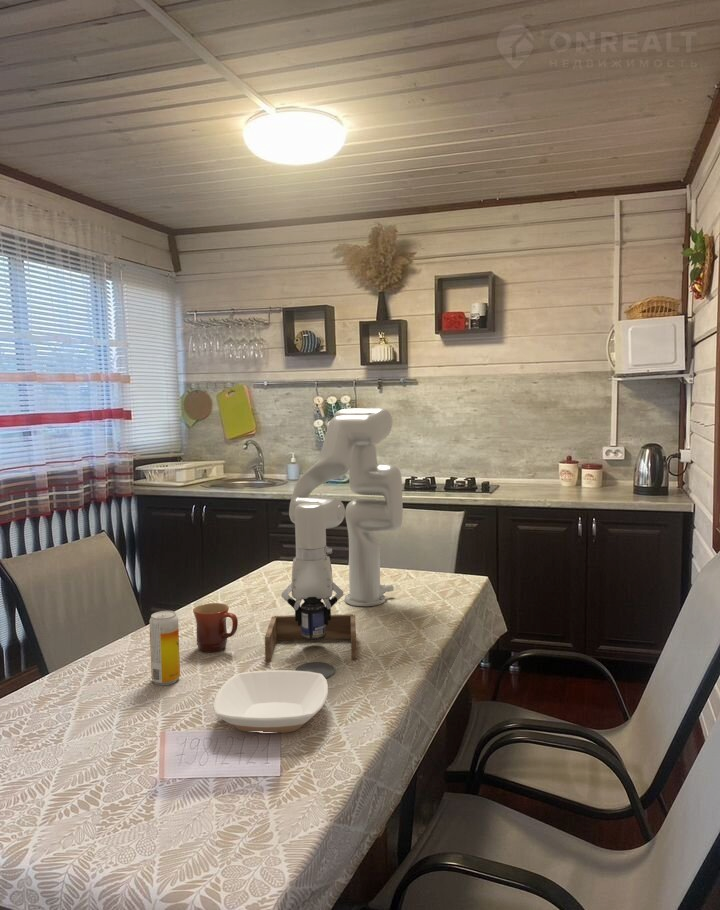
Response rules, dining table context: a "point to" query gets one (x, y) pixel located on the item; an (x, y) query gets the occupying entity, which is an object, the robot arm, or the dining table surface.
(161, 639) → the beer can
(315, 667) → the slate coaster
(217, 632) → the mug
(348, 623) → the u-shaped wooden arch
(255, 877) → the dining table surface
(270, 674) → the bowl
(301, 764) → the dining table surface
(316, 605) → the pill bottle
